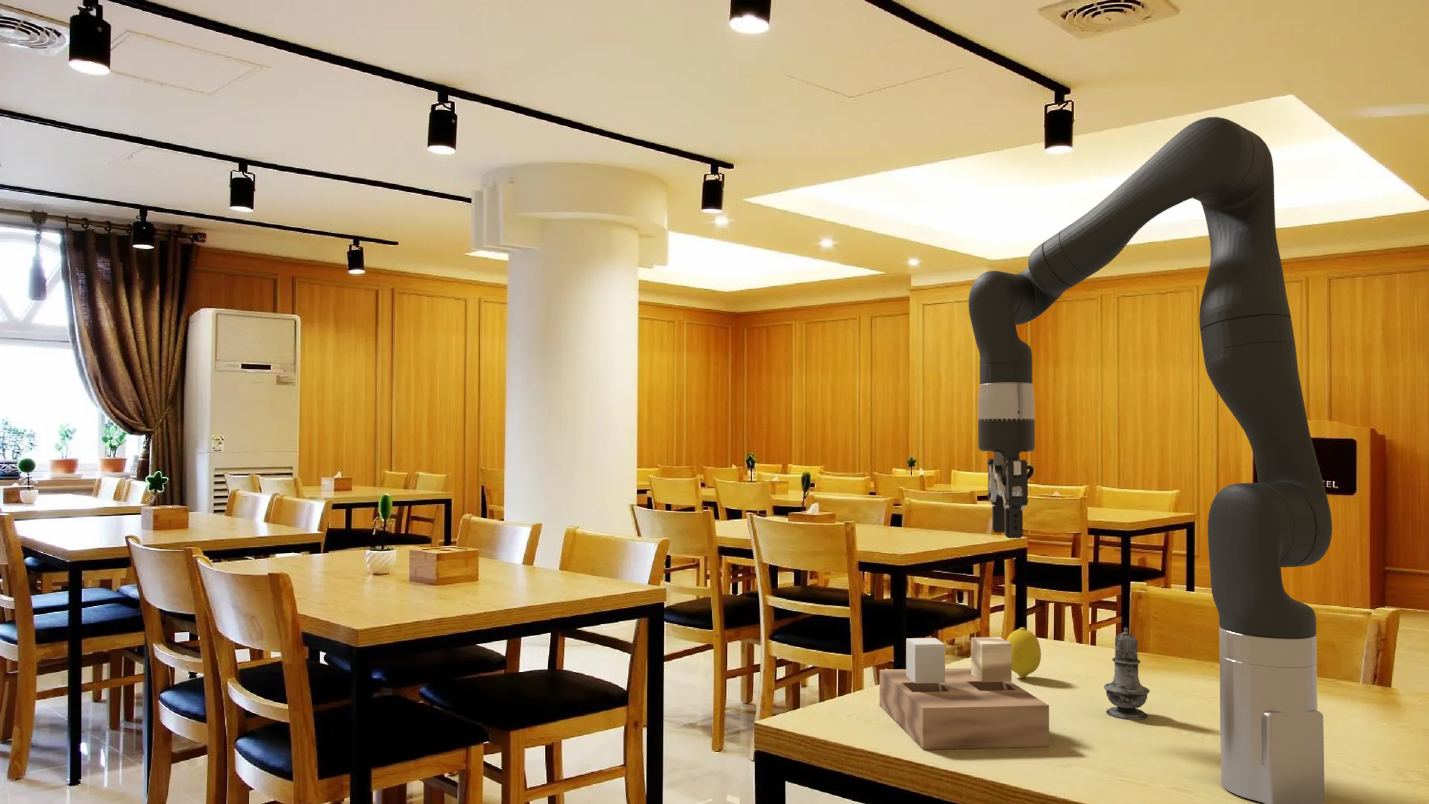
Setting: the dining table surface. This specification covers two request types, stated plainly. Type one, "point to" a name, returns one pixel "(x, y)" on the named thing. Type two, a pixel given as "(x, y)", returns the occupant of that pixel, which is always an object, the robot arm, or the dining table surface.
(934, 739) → the socket board
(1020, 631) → the lemon
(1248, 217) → the robot arm
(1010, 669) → the peg
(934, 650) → the peg
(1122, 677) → the salt shaker
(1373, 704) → the dining table surface
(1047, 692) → the dining table surface
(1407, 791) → the dining table surface
